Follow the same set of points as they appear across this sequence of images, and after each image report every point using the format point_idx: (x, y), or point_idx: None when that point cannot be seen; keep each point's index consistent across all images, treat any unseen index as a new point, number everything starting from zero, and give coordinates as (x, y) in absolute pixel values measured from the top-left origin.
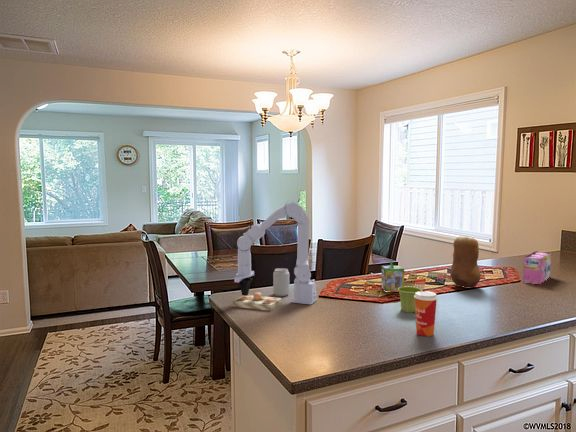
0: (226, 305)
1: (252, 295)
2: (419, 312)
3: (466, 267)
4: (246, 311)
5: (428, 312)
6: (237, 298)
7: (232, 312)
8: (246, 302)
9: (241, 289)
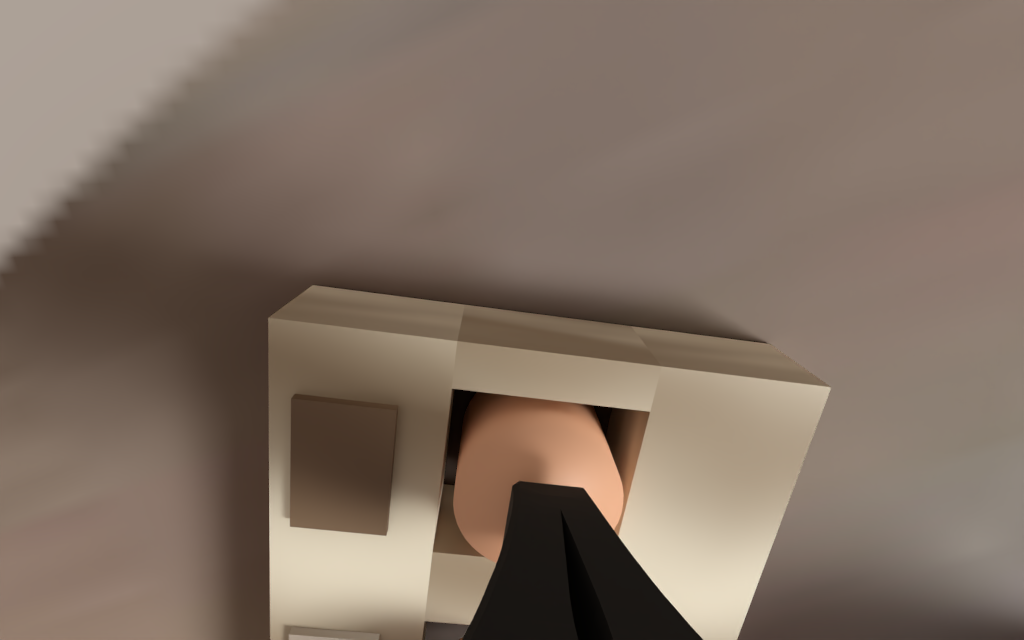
0: (330, 142)
1: (744, 549)
2: None
3: None
4: (155, 568)
5: None
6: (473, 354)
7: (6, 406)
8: (273, 592)
9: (498, 594)
